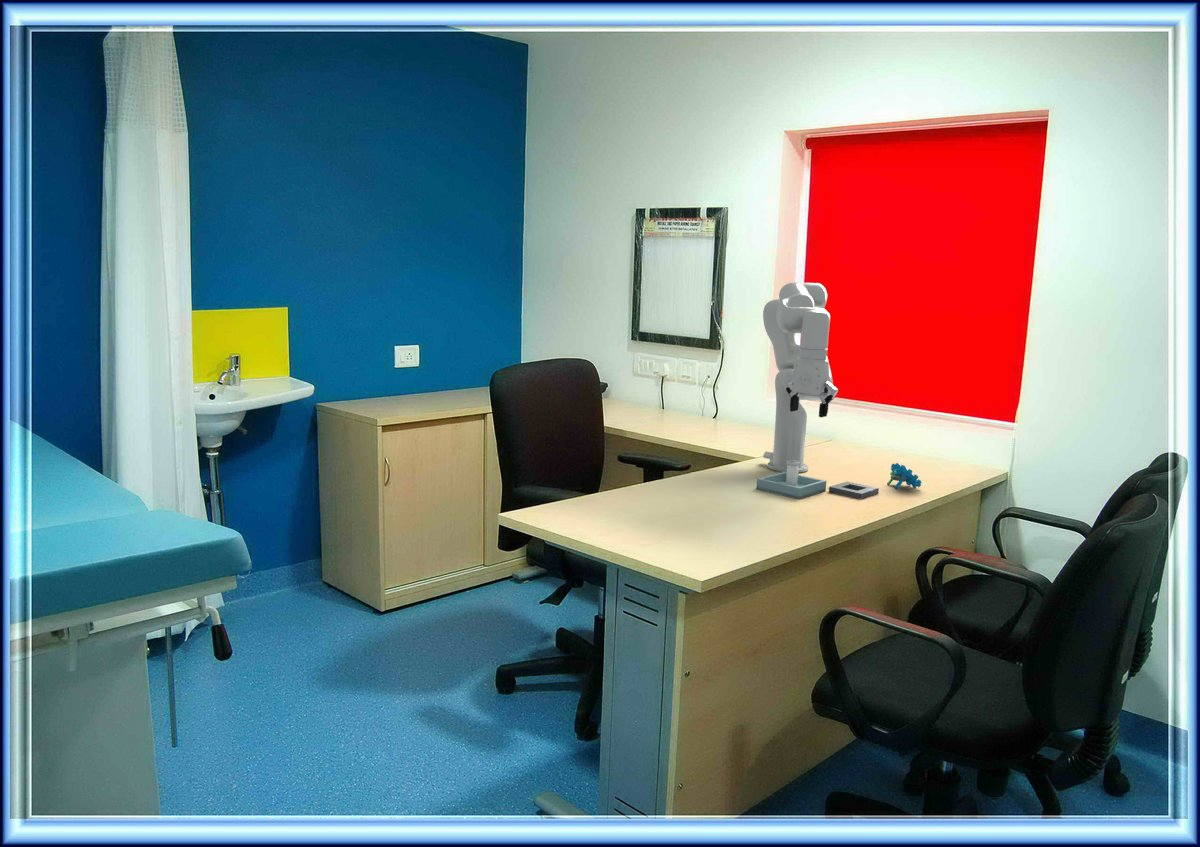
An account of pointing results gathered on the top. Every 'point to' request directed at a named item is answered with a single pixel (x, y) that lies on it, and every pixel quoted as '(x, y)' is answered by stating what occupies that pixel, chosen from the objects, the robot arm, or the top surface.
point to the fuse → (792, 472)
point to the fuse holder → (853, 490)
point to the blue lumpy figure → (903, 476)
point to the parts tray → (779, 486)
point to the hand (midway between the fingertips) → (808, 413)
